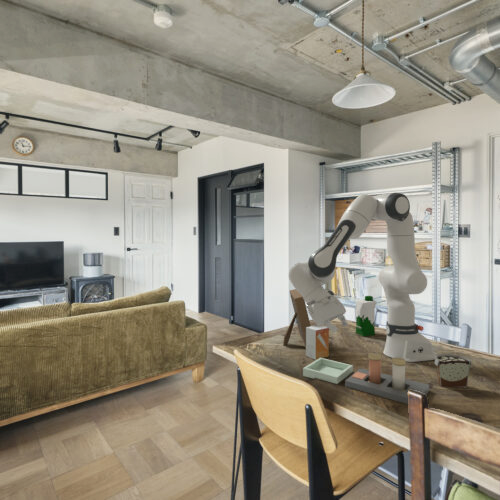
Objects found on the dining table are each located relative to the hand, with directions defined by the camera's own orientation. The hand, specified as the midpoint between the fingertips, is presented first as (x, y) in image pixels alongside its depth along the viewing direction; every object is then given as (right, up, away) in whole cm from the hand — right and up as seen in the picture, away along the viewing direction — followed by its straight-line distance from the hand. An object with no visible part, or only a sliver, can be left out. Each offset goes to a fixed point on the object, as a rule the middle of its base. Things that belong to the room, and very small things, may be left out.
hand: (341, 328), depth 132 cm
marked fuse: (+10, -19, -7) cm, 22 cm away
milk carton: (+27, -16, +56) cm, 64 cm away
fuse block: (+13, -19, -9) cm, 25 cm away
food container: (+37, -19, -5) cm, 42 cm away
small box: (-4, -18, +24) cm, 30 cm away
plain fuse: (+16, -19, -12) cm, 28 cm away
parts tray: (-4, -19, +5) cm, 20 cm away
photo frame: (-11, -17, +44) cm, 48 cm away
